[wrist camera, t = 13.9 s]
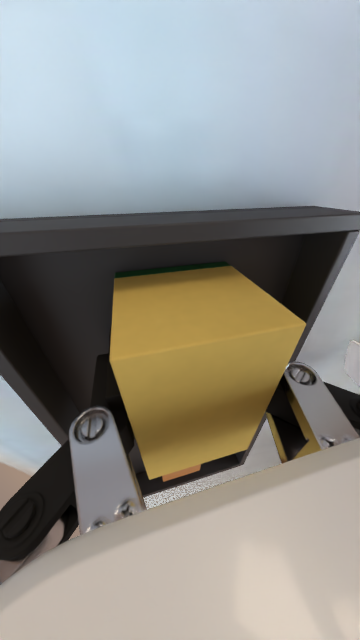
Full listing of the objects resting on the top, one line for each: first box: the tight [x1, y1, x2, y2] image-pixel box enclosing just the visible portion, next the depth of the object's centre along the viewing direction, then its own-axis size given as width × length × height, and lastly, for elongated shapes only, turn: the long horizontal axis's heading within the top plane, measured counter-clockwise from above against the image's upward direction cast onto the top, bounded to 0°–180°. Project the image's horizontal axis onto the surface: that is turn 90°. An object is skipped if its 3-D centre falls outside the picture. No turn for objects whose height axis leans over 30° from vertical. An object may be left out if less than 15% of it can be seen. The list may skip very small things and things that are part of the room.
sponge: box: [110, 261, 306, 480], centre depth 9 cm, size 8×5×5 cm, turn 1°
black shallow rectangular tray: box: [0, 206, 360, 497], centre depth 14 cm, size 25×14×3 cm, turn 1°
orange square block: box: [162, 464, 201, 482], centre depth 20 cm, size 4×4×2 cm
